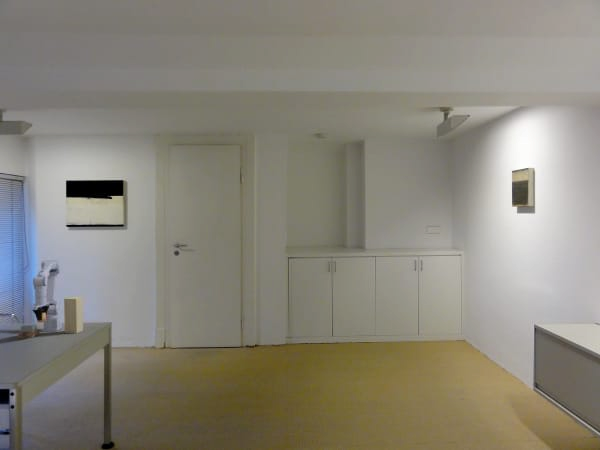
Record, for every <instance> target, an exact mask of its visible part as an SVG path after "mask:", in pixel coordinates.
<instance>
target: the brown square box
mask: <svg viewBox="0 0 600 450" xmlns="http://www.w3.org/2000/svg"><path fill="white" fill-rule="evenodd" d="M40 331H41V329H40V328H37V330H35V331H33V332H21V331H20V332H18V335H17V336H18V339H27V338H29V339H32V338H35V337H37V336H38V335H40V334H41V332H40Z"/></svg>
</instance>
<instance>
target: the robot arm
mask: <svg viewBox="0 0 600 450" xmlns="http://www.w3.org/2000/svg"><path fill="white" fill-rule="evenodd" d="M40 265H41V266H40V267H41V270H40V271H38V273H37V275H36V276H35V277H33V279H32V286H33V290H34V300H35V301H34V304H33V305H32V312H33V313H34V315H35V317H36V322H37V321H41V320H42V313H46V322H43V329H40V331H41V332H52V331H53V332H54V331H58V330H60V329H63V326H62V323H63V322H62V316H61V315H59V313H60V303H59V302H58V301H57V300H55V298H56V282H57V276H58V275H59V274H60V273H61V261H60V260H59V259H55V260H53V259H52V260H51V259H50V260H42V261H41V263H40Z"/></svg>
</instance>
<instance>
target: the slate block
mask: <svg viewBox="0 0 600 450" xmlns="http://www.w3.org/2000/svg"><path fill="white" fill-rule="evenodd" d="M37 329H38V323H26V324H24V325H22V326H20V332H33V331H35V330H37Z"/></svg>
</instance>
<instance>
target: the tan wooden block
mask: <svg viewBox="0 0 600 450" xmlns="http://www.w3.org/2000/svg"><path fill="white" fill-rule="evenodd" d="M63 305H64V306H63V307H64V308H63V309H64V311H63V312H64V333H65V334H78V333H80V332H83V331H84V315H83V313H84V312H83V310H84V309H83V297H82V296H69V297H66V298H64V301H63Z"/></svg>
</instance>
